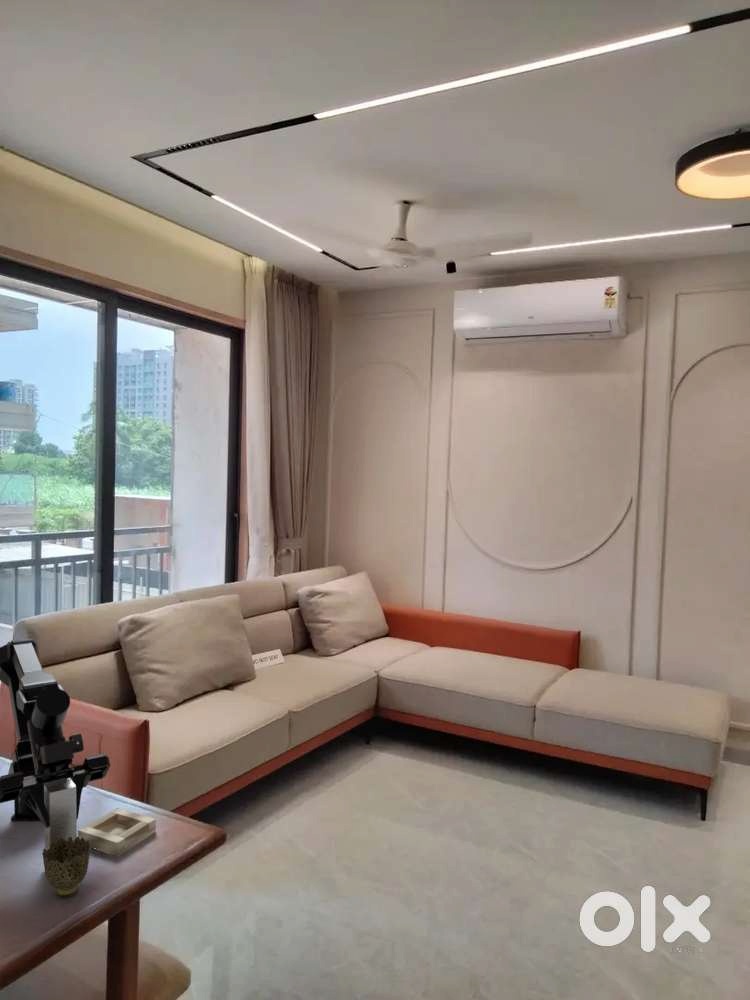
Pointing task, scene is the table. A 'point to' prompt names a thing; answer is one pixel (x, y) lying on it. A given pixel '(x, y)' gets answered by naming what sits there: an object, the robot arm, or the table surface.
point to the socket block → (118, 831)
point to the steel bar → (60, 810)
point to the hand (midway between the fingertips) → (62, 823)
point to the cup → (66, 865)
